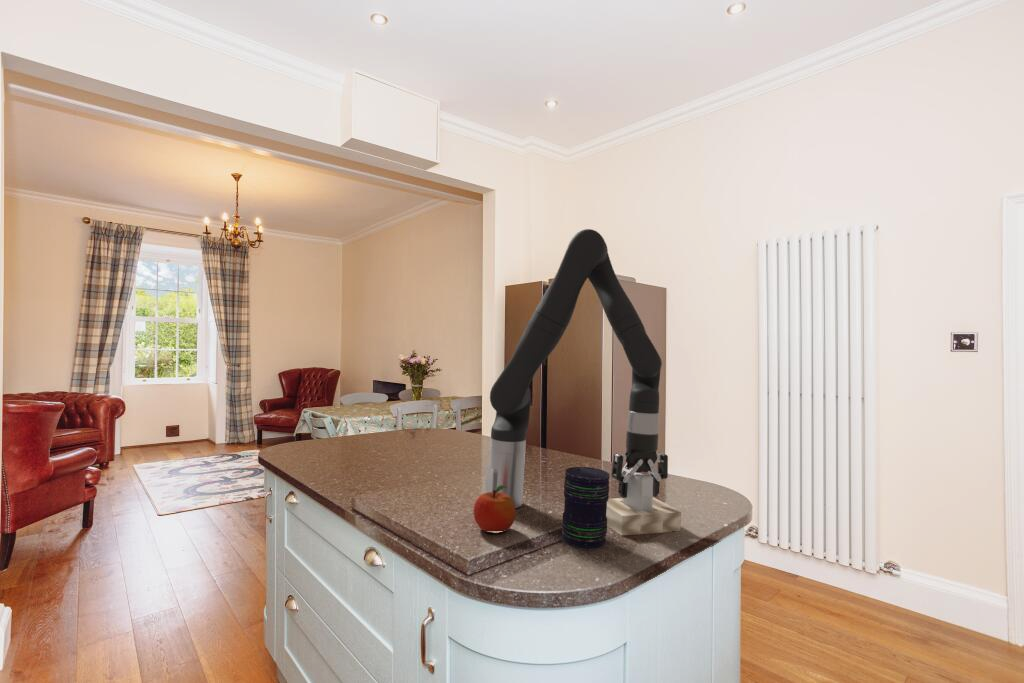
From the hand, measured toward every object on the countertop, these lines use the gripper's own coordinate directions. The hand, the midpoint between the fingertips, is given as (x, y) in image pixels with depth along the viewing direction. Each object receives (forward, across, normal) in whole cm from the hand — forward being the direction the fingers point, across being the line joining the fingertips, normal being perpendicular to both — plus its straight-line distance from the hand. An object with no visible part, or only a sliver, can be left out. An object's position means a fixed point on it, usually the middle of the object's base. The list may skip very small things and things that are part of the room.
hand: (638, 496), depth 123 cm
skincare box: (+7, 0, 0) cm, 7 cm away
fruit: (+7, -36, +2) cm, 37 cm away
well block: (+7, 0, 0) cm, 7 cm away
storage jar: (+7, -18, -7) cm, 21 cm away
